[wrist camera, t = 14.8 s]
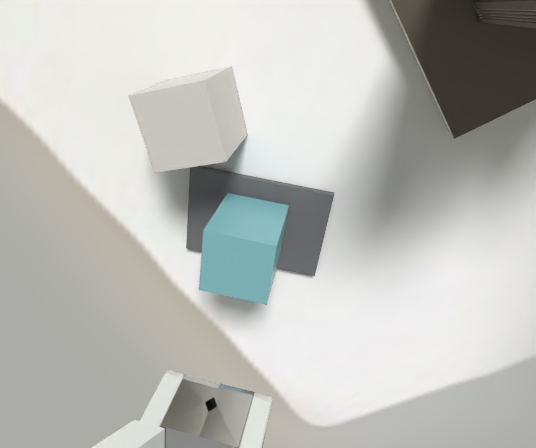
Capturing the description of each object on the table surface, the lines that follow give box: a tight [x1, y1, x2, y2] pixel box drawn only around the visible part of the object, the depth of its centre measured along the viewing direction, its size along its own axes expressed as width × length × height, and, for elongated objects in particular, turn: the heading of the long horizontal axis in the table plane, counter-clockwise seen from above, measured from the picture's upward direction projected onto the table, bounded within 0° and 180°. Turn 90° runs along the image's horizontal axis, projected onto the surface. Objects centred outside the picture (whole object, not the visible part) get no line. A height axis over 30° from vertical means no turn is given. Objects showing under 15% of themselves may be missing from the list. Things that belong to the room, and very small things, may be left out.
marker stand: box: [186, 166, 334, 276], centre depth 33 cm, size 12×8×7 cm, turn 82°
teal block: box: [199, 193, 289, 305], centre depth 33 cm, size 5×5×7 cm
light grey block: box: [129, 66, 248, 173], centre depth 30 cm, size 5×5×7 cm
